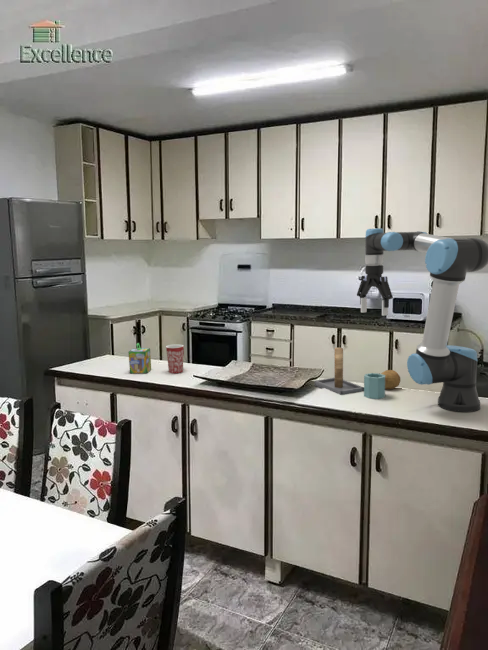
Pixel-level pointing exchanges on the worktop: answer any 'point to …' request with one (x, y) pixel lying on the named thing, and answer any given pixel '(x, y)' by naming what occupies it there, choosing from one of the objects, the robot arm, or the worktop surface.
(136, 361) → the chalk box
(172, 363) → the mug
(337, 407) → the worktop surface
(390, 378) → the potato
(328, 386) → the tray
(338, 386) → the dowel
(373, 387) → the cup
